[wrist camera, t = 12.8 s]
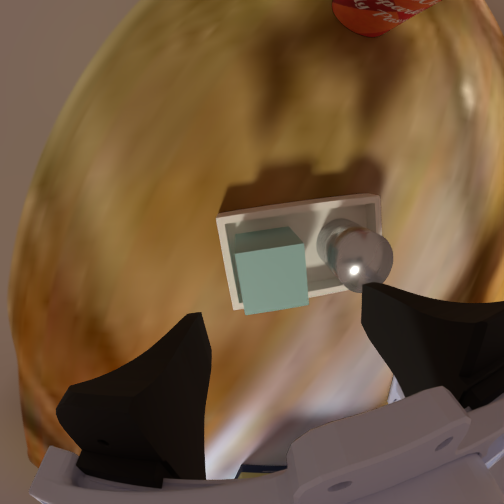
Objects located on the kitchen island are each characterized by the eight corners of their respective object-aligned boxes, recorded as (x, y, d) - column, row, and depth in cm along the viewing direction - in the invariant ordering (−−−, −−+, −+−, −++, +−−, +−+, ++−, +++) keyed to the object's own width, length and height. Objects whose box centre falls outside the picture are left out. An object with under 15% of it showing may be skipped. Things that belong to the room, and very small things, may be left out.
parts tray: (367, 192, 21) (380, 195, 18) (370, 273, 23) (381, 282, 20) (218, 213, 21) (215, 218, 18) (233, 297, 23) (233, 310, 20)
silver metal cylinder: (360, 214, 20) (392, 228, 16) (363, 262, 22) (392, 285, 17) (313, 222, 20) (335, 238, 16) (318, 271, 22) (339, 298, 17)
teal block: (288, 226, 20) (304, 243, 16) (293, 275, 22) (308, 304, 17) (235, 234, 20) (234, 253, 16) (243, 283, 22) (245, 315, 17)
